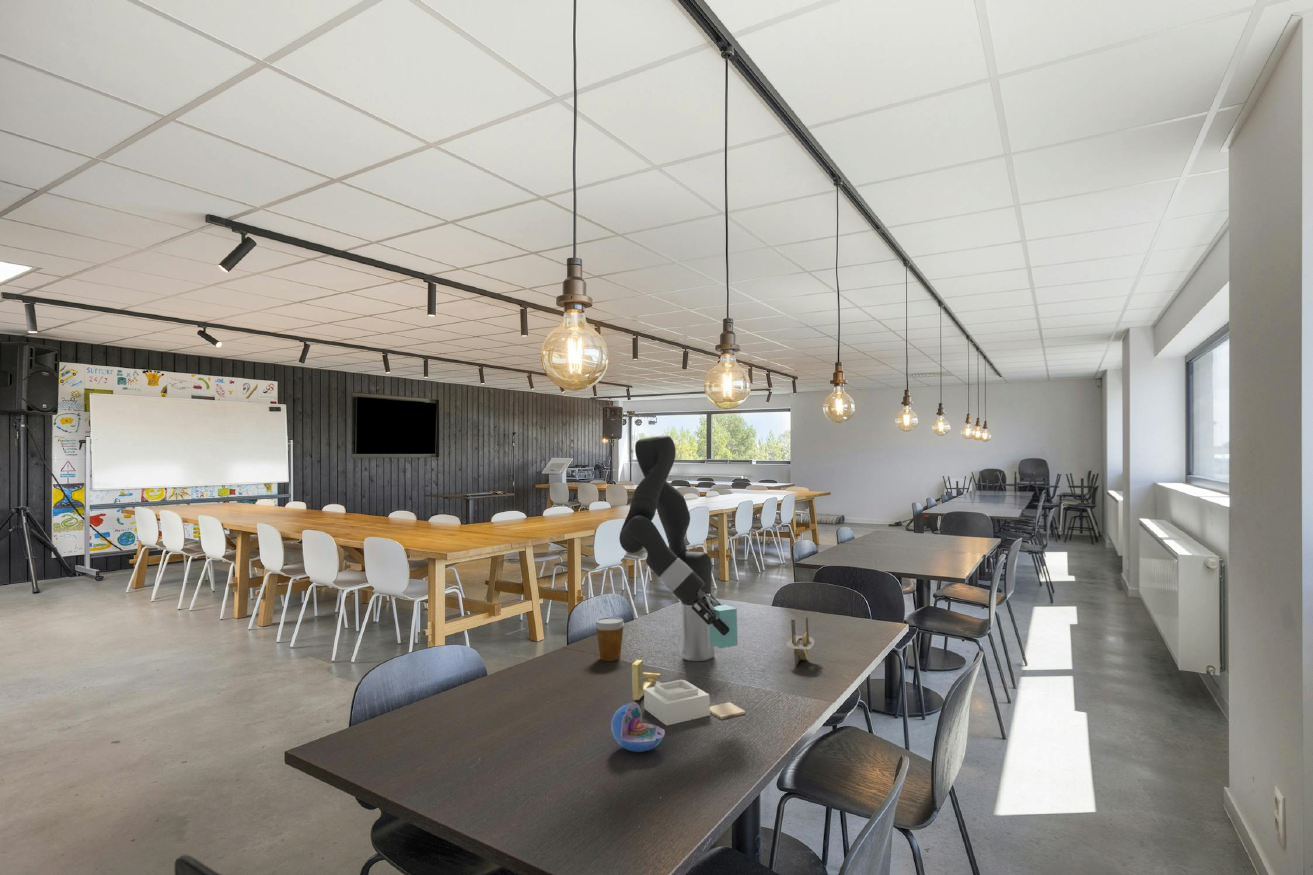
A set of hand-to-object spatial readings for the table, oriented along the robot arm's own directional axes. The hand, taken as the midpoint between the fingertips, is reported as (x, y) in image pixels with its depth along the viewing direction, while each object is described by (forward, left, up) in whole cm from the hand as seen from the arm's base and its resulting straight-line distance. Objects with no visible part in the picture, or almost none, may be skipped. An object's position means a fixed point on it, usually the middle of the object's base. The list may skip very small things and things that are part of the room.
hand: (729, 628), depth 160 cm
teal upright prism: (+1, -1, -4) cm, 4 cm away
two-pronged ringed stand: (-39, -21, -21) cm, 50 cm away
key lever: (+13, -23, -20) cm, 33 cm away
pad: (+1, -1, -20) cm, 20 cm away
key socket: (+9, -27, -20) cm, 35 cm away
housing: (+12, -7, -20) cm, 25 cm away
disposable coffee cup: (+9, -57, -21) cm, 61 cm away
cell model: (+29, +7, -21) cm, 36 cm away
